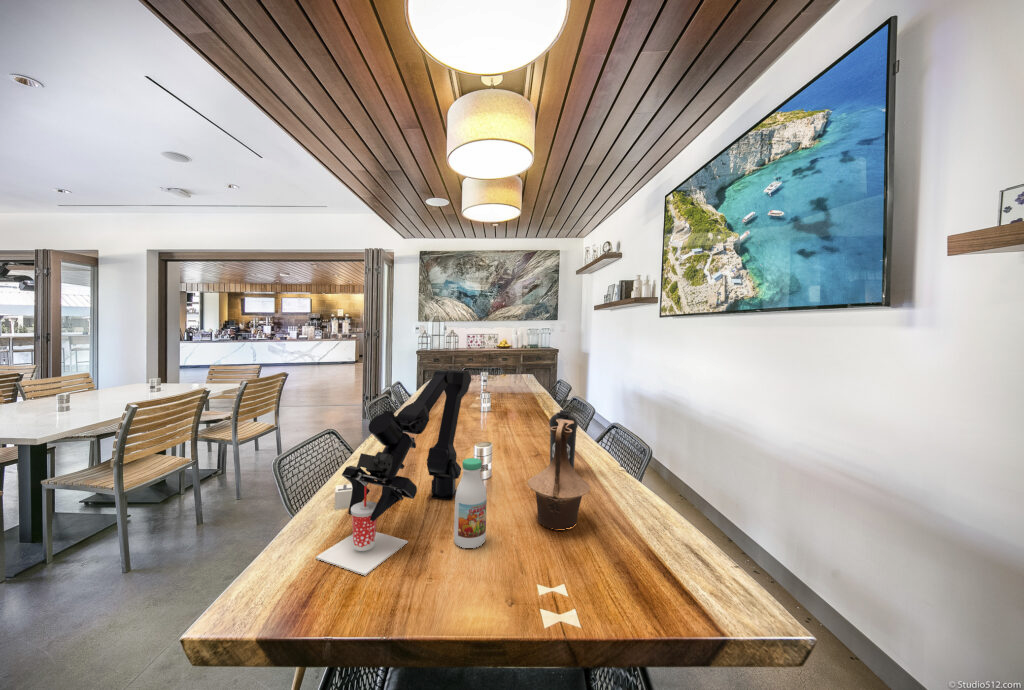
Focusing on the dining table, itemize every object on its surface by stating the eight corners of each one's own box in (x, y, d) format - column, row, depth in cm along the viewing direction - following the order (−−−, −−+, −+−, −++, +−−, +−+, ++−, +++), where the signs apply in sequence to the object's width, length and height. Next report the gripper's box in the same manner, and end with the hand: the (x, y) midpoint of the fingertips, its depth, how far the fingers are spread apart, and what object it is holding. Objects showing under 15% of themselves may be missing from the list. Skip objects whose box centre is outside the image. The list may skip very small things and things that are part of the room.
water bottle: (544, 477, 138) (547, 413, 138) (550, 467, 148) (552, 407, 147) (573, 481, 136) (576, 415, 135) (577, 471, 145) (579, 410, 144)
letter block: (354, 500, 116) (354, 483, 115) (354, 507, 111) (354, 489, 111) (335, 502, 114) (335, 485, 114) (334, 509, 109) (335, 492, 109)
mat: (362, 530, 99) (362, 527, 99) (407, 543, 93) (407, 540, 93) (315, 559, 86) (315, 556, 86) (365, 576, 80) (365, 574, 80)
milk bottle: (447, 544, 94) (449, 462, 93) (465, 530, 100) (467, 453, 100) (474, 553, 90) (476, 468, 89) (491, 538, 97) (493, 458, 96)
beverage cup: (360, 536, 93) (362, 478, 93) (383, 540, 92) (385, 482, 91) (343, 550, 87) (345, 489, 87) (367, 555, 86) (369, 493, 85)
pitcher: (588, 543, 96) (593, 431, 95) (520, 533, 99) (524, 425, 98) (588, 511, 113) (592, 415, 112) (531, 504, 117) (534, 411, 116)
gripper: (347, 433, 96) (308, 494, 86) (410, 444, 89) (375, 512, 79) (370, 455, 103) (337, 514, 94) (429, 466, 96) (400, 531, 87)
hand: (360, 517), depth 88 cm, fingers closed on beverage cup, 6 cm apart
